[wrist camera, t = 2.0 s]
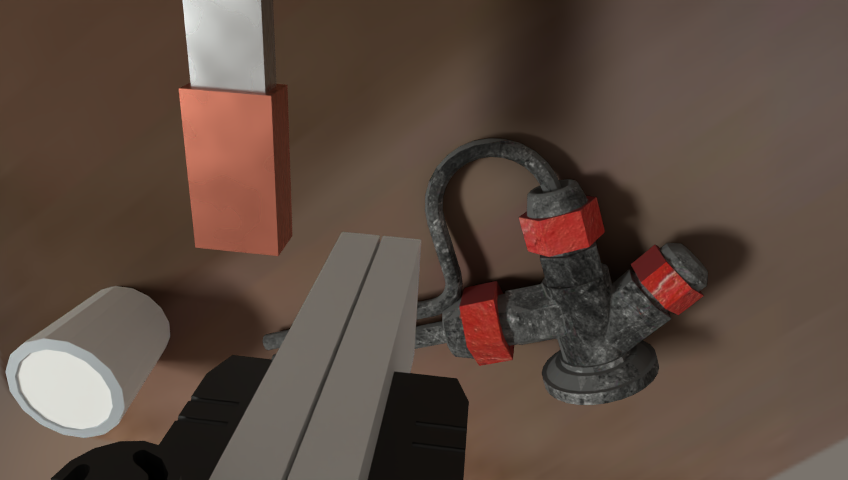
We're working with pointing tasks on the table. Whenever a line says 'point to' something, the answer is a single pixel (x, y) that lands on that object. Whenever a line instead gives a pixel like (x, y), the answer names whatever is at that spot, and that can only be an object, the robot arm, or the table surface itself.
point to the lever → (236, 128)
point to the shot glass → (89, 362)
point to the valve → (556, 290)
